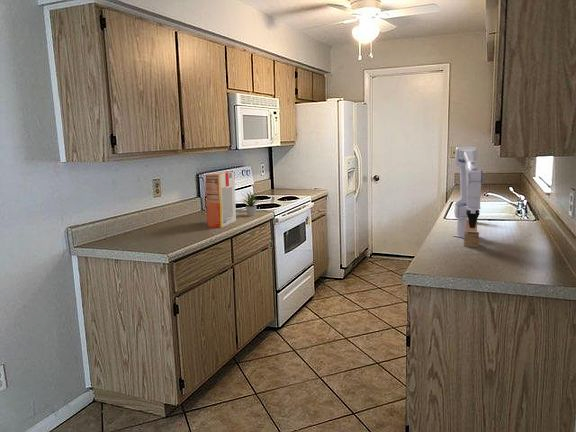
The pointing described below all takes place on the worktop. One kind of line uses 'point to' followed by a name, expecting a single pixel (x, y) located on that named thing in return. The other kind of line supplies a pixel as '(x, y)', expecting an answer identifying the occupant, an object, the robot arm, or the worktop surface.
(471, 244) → the tower base
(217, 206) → the pasta box
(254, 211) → the house plant
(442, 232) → the worktop surface
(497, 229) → the worktop surface
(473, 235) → the tower top
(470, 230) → the terracotta block
